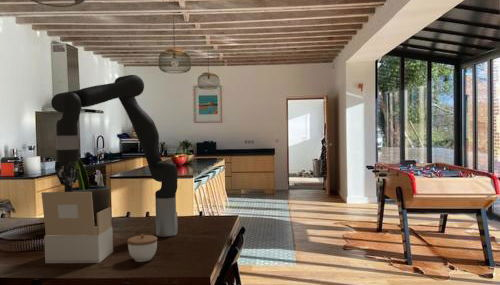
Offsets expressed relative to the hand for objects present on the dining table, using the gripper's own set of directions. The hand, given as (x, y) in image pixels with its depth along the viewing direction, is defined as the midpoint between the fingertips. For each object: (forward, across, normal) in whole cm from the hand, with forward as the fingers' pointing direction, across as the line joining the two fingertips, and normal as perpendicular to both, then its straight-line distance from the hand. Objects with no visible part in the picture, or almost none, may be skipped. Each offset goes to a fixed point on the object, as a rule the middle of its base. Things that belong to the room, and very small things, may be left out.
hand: (68, 196), depth 152 cm
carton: (+25, +8, 0) cm, 26 cm away
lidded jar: (+25, +5, -25) cm, 36 cm away
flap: (+6, -1, 0) cm, 6 cm away
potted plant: (+25, +61, +20) cm, 69 cm away
